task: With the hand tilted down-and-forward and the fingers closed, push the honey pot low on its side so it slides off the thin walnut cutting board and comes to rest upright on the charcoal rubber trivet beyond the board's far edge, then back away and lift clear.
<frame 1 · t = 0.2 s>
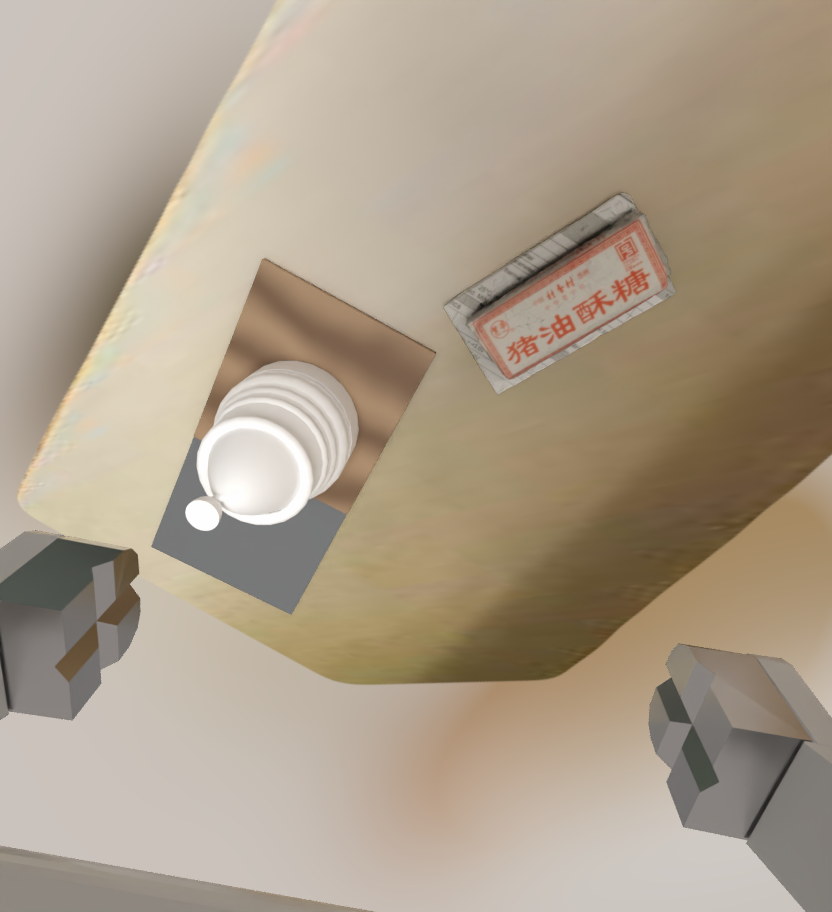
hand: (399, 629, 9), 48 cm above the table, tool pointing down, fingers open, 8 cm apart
trivet mat: (246, 529, 65), on the table
cutting board: (309, 395, 58), on the table
honey pot: (296, 421, 59), resting on cutting board
packaged product: (555, 297, 53), on the table
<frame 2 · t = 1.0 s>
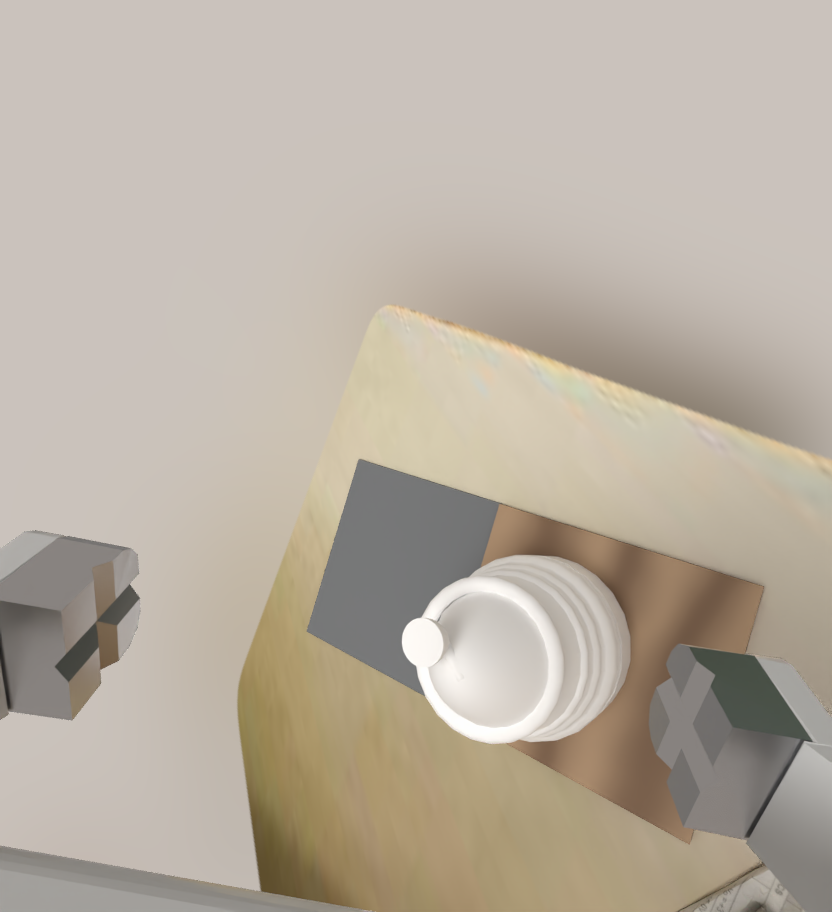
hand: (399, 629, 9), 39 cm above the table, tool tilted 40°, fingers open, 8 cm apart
trivet mat: (397, 572, 54), on the table
cutting board: (585, 652, 45), on the table
honey pot: (546, 637, 46), resting on cutting board
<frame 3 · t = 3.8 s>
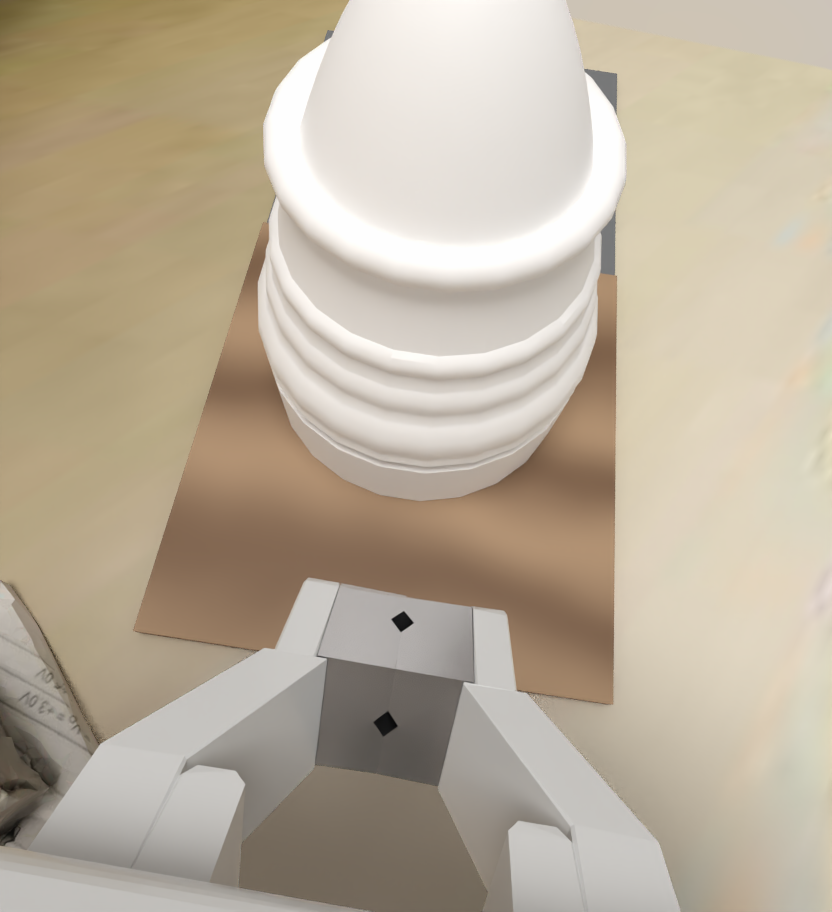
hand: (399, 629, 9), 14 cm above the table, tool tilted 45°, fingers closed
trivet mat: (457, 146, 33), on the table
cutting board: (410, 432, 26), on the table
honey pot: (420, 369, 27), resting on cutting board
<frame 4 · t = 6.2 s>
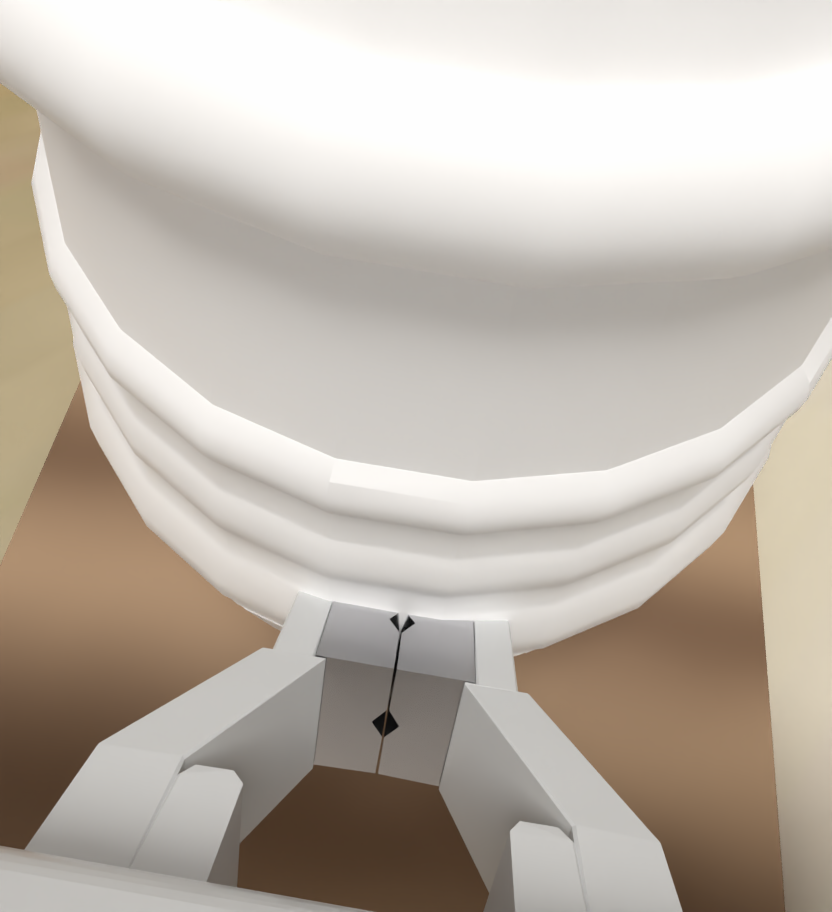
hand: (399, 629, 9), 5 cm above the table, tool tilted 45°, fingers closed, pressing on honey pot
cutting board: (400, 533, 15), on the table
honey pot: (419, 419, 16), resting on cutting board, touching gripper
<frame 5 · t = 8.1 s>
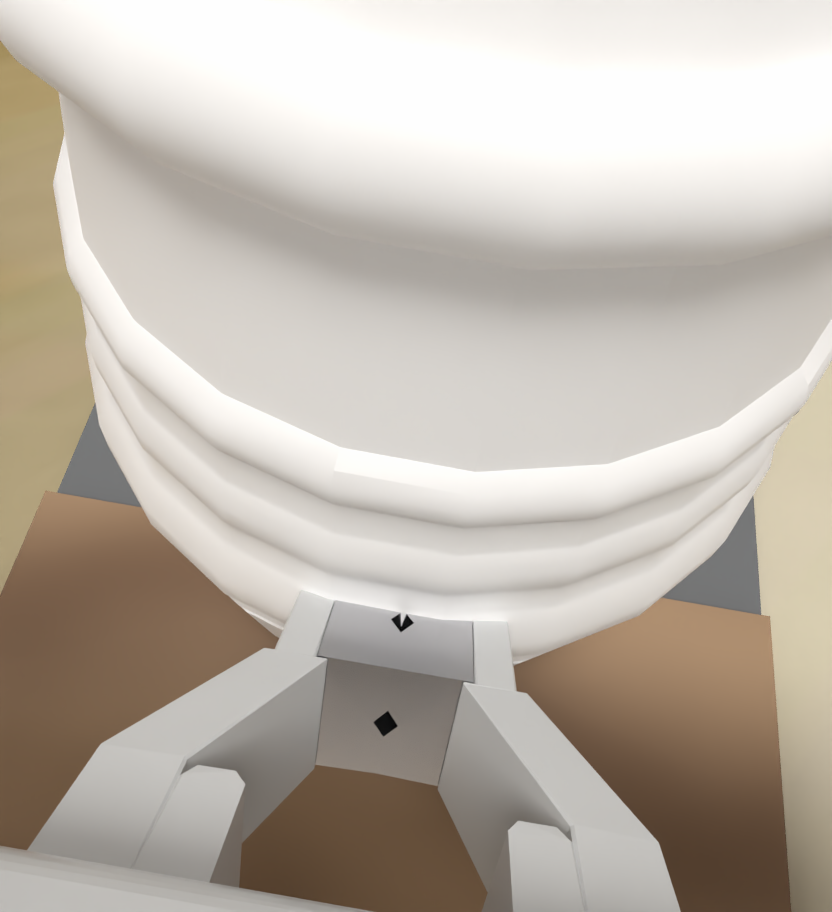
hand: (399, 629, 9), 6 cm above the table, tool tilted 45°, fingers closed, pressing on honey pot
trivet mat: (449, 304, 18), on the table
honey pot: (423, 431, 16), resting on trivet mat, touching gripper
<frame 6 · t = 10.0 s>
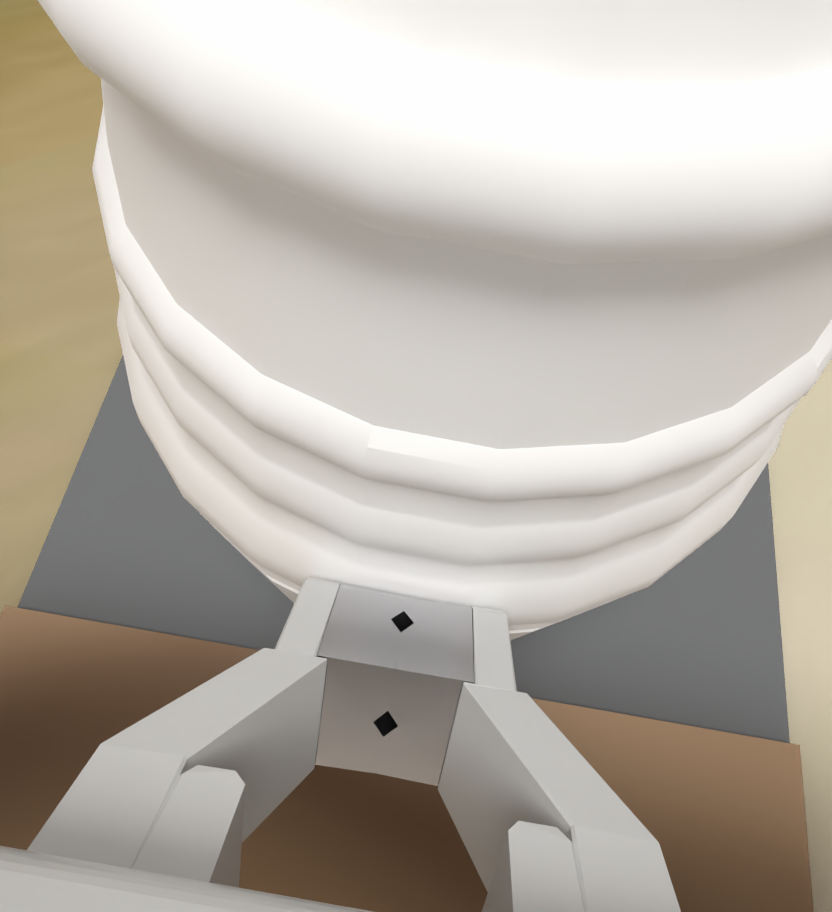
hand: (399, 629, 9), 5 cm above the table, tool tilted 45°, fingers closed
trivet mat: (448, 379, 17), on the table
honey pot: (437, 408, 16), resting on trivet mat
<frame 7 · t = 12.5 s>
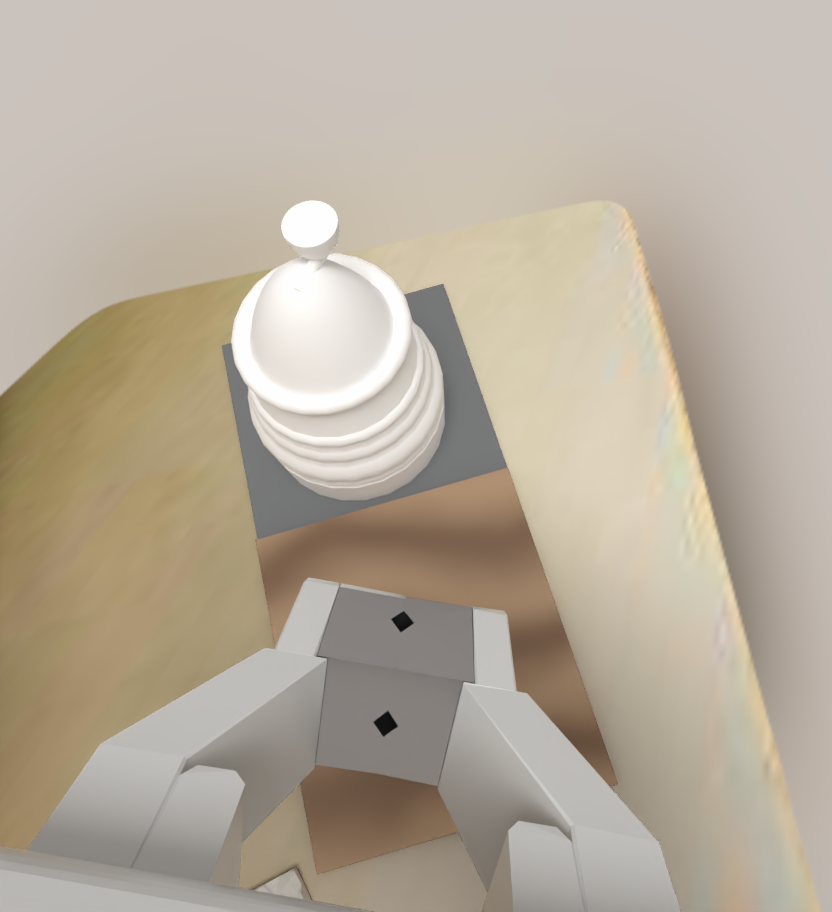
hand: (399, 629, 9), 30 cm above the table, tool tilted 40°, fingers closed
trivet mat: (357, 405, 43), on the table
cutting board: (422, 651, 37), on the table
honey pot: (358, 417, 43), resting on trivet mat
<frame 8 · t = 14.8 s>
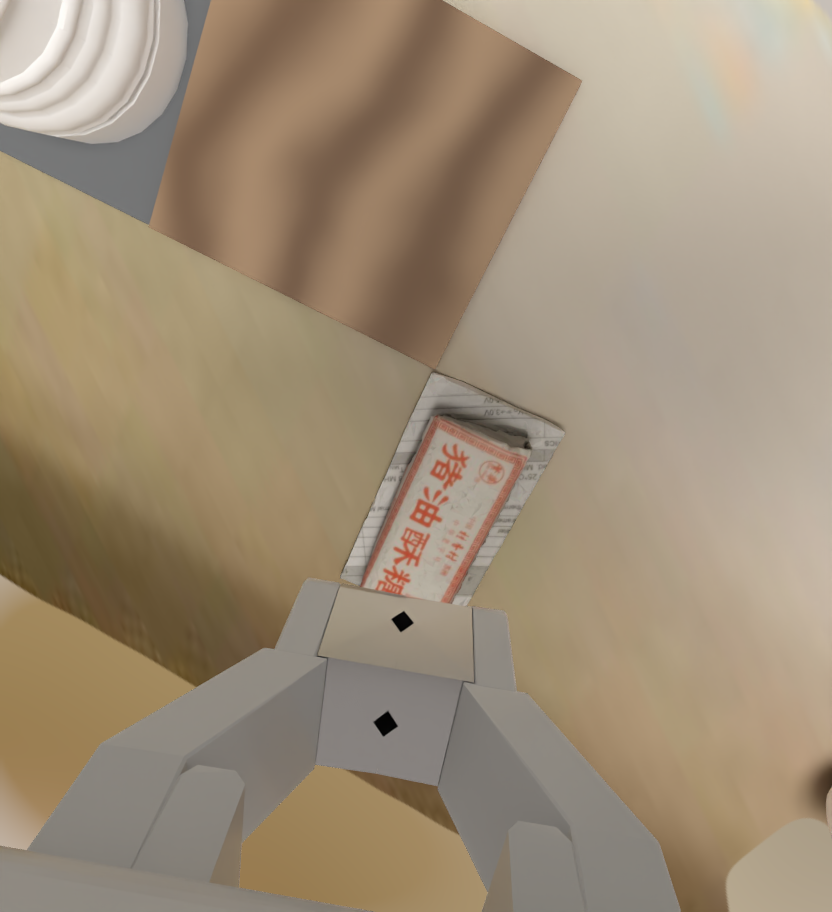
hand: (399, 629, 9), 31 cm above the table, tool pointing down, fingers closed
trivet mat: (62, 4, 33), on the table
cutting board: (352, 159, 34), on the table
honey pot: (77, 16, 33), resting on trivet mat
packaged product: (445, 500, 43), on the table
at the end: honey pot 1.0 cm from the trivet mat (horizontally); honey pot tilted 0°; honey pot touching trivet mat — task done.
